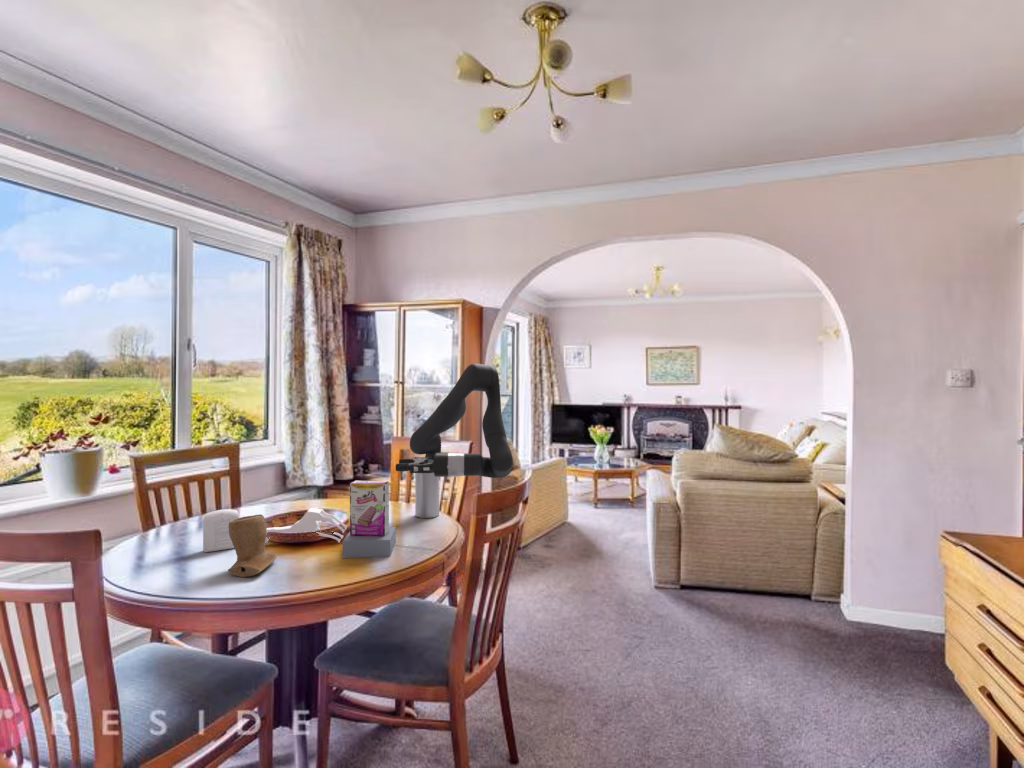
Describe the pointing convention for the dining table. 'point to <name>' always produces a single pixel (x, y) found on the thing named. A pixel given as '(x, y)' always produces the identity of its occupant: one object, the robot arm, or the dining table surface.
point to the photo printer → (218, 530)
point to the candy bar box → (369, 508)
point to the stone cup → (249, 545)
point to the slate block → (369, 545)
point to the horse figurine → (311, 524)
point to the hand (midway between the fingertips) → (397, 464)
